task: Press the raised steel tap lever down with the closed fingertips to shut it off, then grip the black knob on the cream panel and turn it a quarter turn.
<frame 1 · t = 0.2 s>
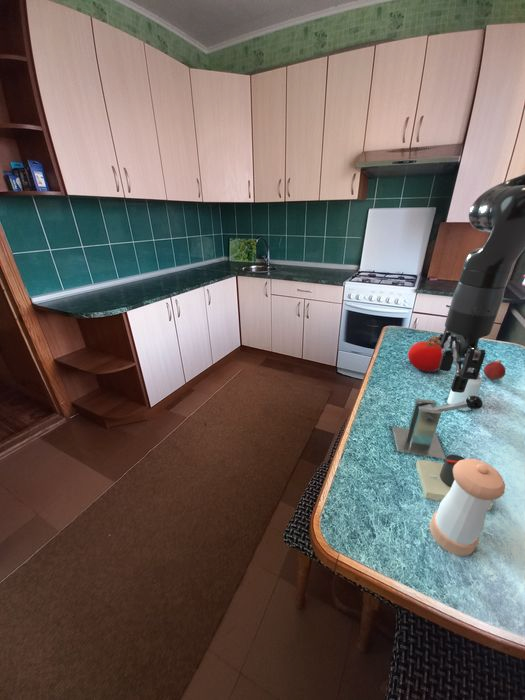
hand: (450, 380, 62), 23 cm above the table, tool pointing down, fingers open, 8 cm apart
pepper shaker: (449, 538, 55), on the table
can: (458, 407, 89), on the table
tap lever: (450, 407, 69), point 13 cm above the table, hinge at 25.0°
pastry: (444, 348, 125), on the table
dial panel: (448, 489, 64), on the table
dial knob: (455, 471, 61), point 6 cm above the table, hinge at 0.0°
tomato: (423, 368, 110), on the table
red rounded piece: (490, 380, 102), on the table
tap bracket: (416, 445, 76), on the table
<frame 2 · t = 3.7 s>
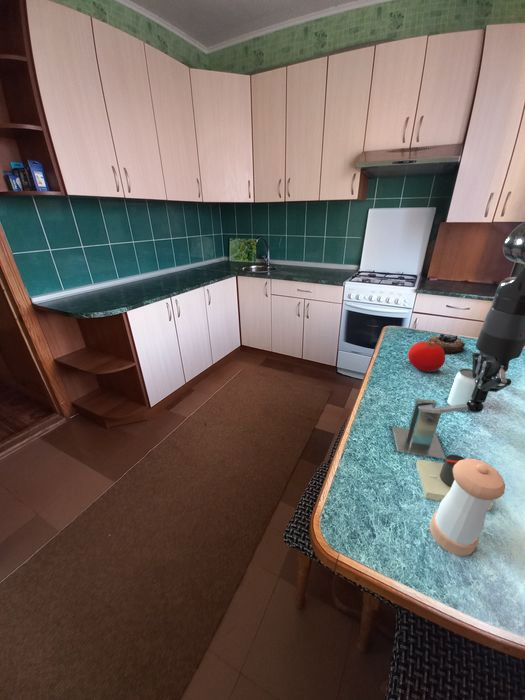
hand: (477, 400, 66), 16 cm above the table, tool pointing down, fingers closed
tap lever: (450, 408, 69), point 13 cm above the table, hinge at 19.5°
everything else where it was.
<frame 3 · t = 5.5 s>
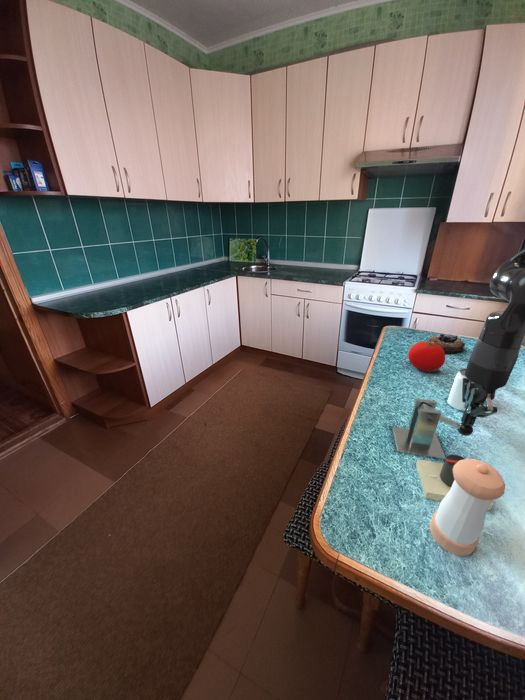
hand: (466, 423, 69), 9 cm above the table, tool pointing down, fingers closed
tap lever: (446, 420, 70), point 9 cm above the table, hinge at -21.3°, touching gripper
everything else where it was.
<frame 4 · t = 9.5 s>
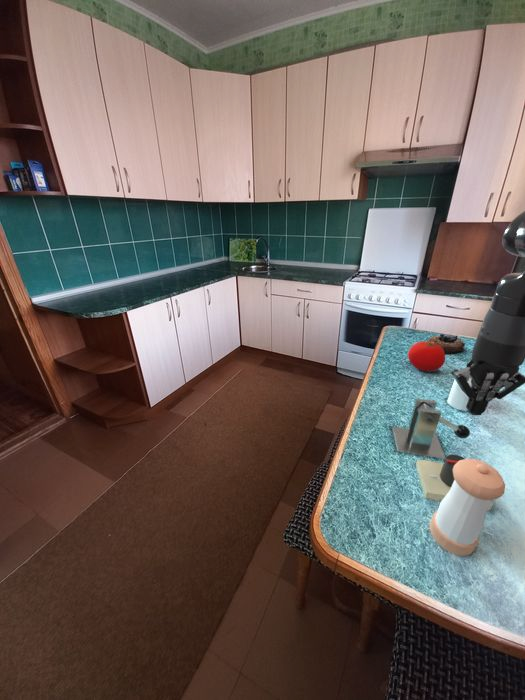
hand: (473, 412, 59), 18 cm above the table, tool pointing down, fingers closed
tap lever: (444, 421, 71), point 9 cm above the table, hinge at -27.2°
everything else where it was.
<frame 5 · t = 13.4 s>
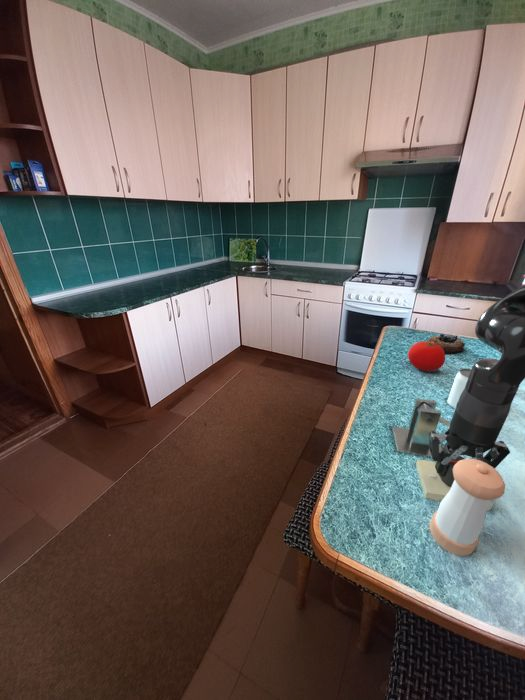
hand: (454, 475, 62), 4 cm above the table, tool pointing down, fingers closed on dial knob, 5 cm apart
dial knob: (455, 471, 61), point 6 cm above the table, hinge at 0.0°, touching gripper
everything else where it was.
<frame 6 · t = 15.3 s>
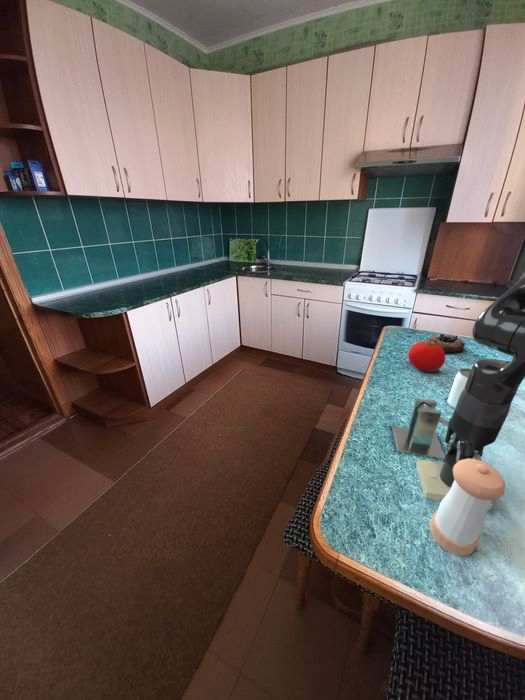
hand: (453, 475, 62), 4 cm above the table, tool pointing down, fingers closed on dial knob, 5 cm apart
dial knob: (455, 471, 61), point 6 cm above the table, hinge at 93.7°, touching gripper
everything else where it was.
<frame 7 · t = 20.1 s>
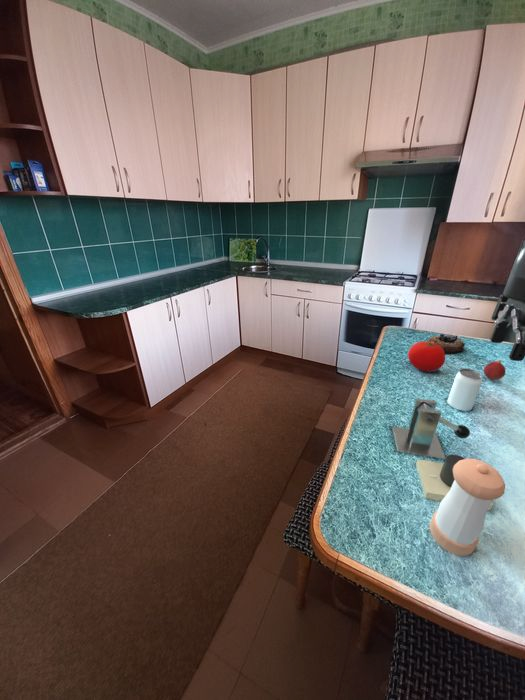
hand: (504, 350, 62), 28 cm above the table, tool pointing down, fingers open, 8 cm apart
dial knob: (455, 471, 61), point 6 cm above the table, hinge at 92.7°
everything else where it was.
at the end: tap lever at -27° (first picture: +25°); dial knob at +93° (first picture: +0°) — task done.
